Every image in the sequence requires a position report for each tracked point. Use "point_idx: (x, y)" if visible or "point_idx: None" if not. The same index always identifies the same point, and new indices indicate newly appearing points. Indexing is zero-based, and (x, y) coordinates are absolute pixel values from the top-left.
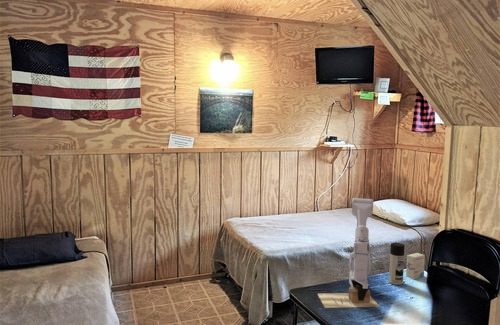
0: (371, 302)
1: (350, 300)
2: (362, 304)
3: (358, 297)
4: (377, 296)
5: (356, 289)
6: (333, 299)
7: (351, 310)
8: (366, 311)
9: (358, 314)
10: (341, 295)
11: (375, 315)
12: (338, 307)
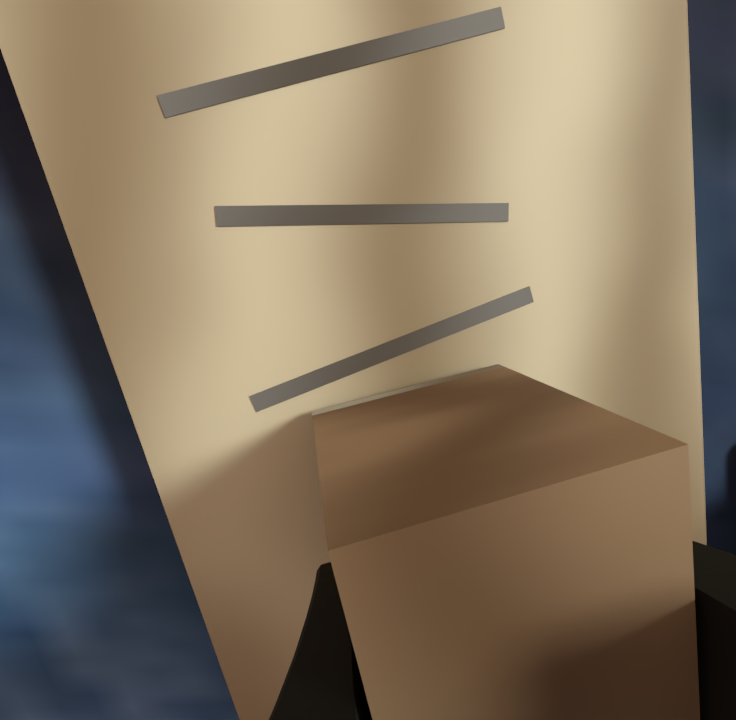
0: None
1: (387, 393)
2: (299, 581)
3: (317, 602)
4: None
5: (529, 674)
6: (410, 39)
7: None
8: (185, 597)
9: (29, 482)
10: (608, 242)
11: (81, 710)
12: (25, 105)
